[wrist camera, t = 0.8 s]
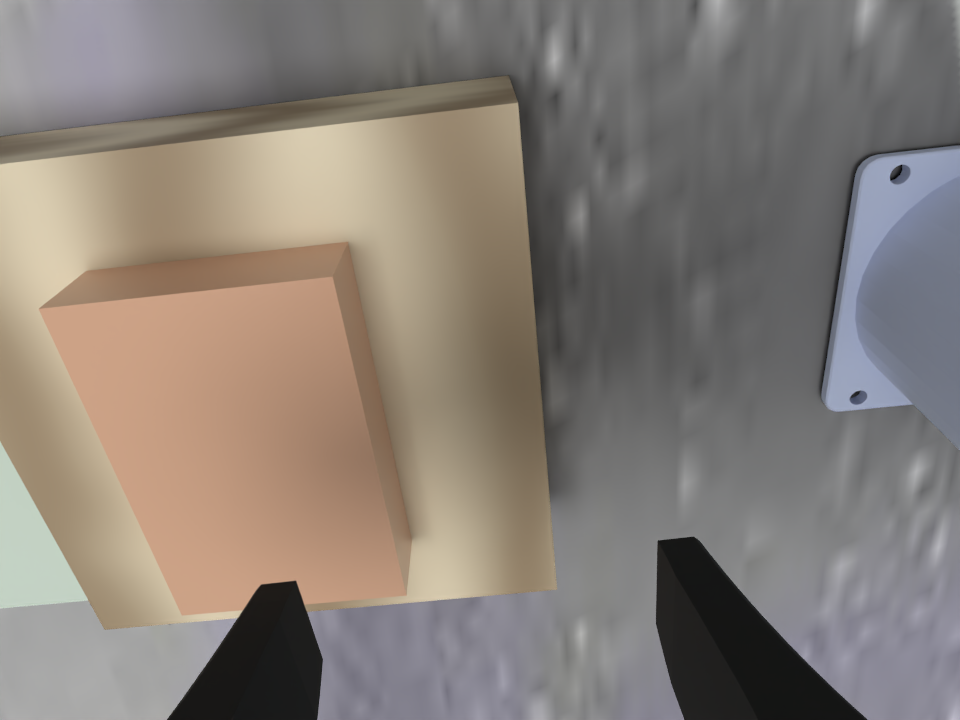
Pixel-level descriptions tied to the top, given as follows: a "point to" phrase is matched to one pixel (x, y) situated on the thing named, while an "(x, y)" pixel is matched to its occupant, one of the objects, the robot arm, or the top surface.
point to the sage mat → (29, 550)
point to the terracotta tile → (242, 422)
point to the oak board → (383, 293)
